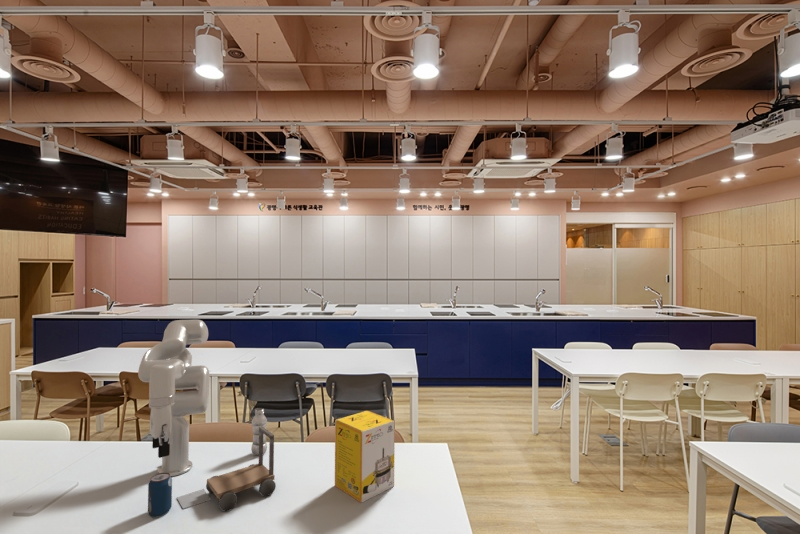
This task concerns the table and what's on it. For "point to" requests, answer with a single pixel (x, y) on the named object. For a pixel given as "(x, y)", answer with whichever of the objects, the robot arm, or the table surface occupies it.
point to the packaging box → (364, 454)
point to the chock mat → (193, 498)
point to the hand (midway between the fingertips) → (160, 451)
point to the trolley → (245, 477)
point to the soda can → (159, 494)
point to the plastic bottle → (258, 422)
